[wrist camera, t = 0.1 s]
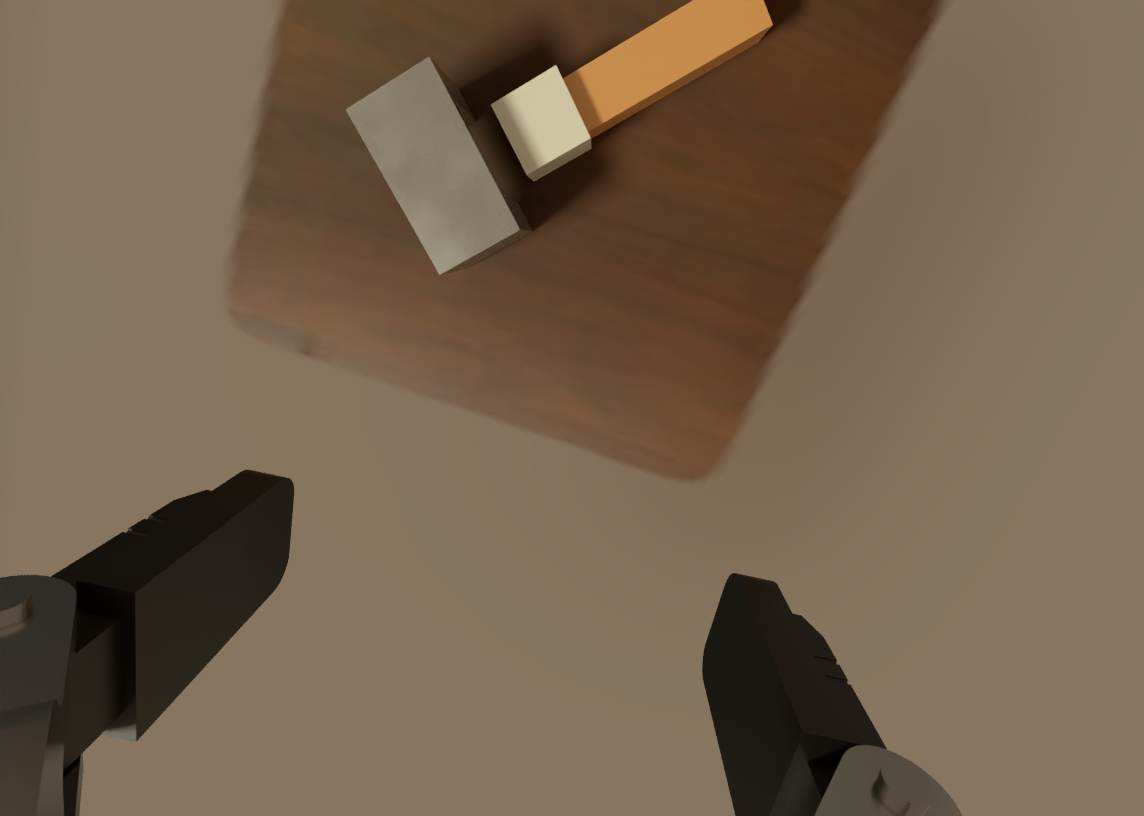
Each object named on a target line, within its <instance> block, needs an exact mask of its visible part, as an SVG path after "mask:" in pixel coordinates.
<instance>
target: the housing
mask: <svg viewBox="0 0 1144 816" xmlns="http://www.w3.org/2000/svg"><path fill="white" fill-rule="evenodd" d="M346 111H347V113H348V115H349V116H350V118H351V120H352V122H353V123H354V125H355V127H356V129H357V130H358V132H359V134H360V136H361V137H362V139H363V141H364V143H365V144H366V146H367V148H368V150H369V151H370V153H371V155H372V157H373V158H374V160H375V162H376V164H377V165H378V167H379V169H380V171H381V173H382V174H383V176H384V178H385V180H386V181H387V183H388V185H389V187H390V188H391V190H392V192H393V194H394V195H395V197H396V199H397V201H398V202H399V204H400V206H401V208H402V209H403V211H404V213H405V215H406V216H407V218H408V220H409V222H410V224H411V225H412V227H413V229H414V231H415V232H416V234H417V236H418V238H419V239H420V241H421V243H422V245H423V246H424V248H425V250H426V252H427V253H428V255H429V257H430V259H431V260H432V262H433V264H434V266H435V267H436V269H437V271H438V273H439V275H441V274H446V273H450V272H454V271H459V270H463V269H466V268H468V267H470V266H472V265H473V264H475V263H477V262H479V261H480V260H482V259H484V258H486V257H488V256H489V255H491V254H493V253H495V252H497V251H498V250H500V249H502V248H504V247H506V246H507V245H509V244H511V243H513V242H515V241H516V240H518V239H520V238H522V237H524V236H525V235H527V234H529V233H531V232H533V230H532V228H531V227H530V225H529V223H528V221H527V219H526V217H525V215H524V213H523V211H522V209H521V207H520V205H519V203H518V202H517V201H515V200H513V199H511V198H508V197H506V196H505V195H504V193H503V191H502V189H501V187H500V186H499V184H498V182H497V180H496V178H495V176H494V174H493V172H492V170H491V168H490V166H489V164H488V163H487V161H486V159H485V157H484V155H483V153H482V151H481V149H480V147H479V145H478V143H477V142H476V140H475V138H474V136H473V134H472V132H471V130H470V128H469V126H468V125H470V124H472V123H473V122H475V119H474V117H473V115H472V113H471V111H470V109H469V107H468V105H467V103H466V101H465V99H464V97H463V95H462V94H461V92H460V90H459V88H458V87H457V86H456V85H455V84H454V83H453V82H452V81H451V79H450V78H449V77H448V76H447V75H446V74H445V73H444V72H443V71H442V70H441V69H440V68H439V67H438V65H437V64H436V63H435V62H434V61H433V60H432V59H431V58H430V57H428V58H426V59H424V60H423V61H421V62H420V63H418V64H417V65H415V66H413V67H412V68H410V69H409V70H407V71H406V72H404V73H402V74H401V75H399V76H398V77H396V78H395V79H393V80H391V81H390V82H388V83H387V84H385V85H384V86H382V87H380V88H379V89H377V90H376V91H374V92H373V93H371V94H369V95H368V96H366V97H365V98H363V99H361V100H360V101H358V102H357V103H355V104H354V105H352V106H350V107H349V108H347V109H346Z"/></svg>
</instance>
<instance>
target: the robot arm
mask: <svg viewBox="0 0 1144 816" xmlns="http://www.w3.org/2000/svg"><path fill="white" fill-rule="evenodd" d="M293 499H294V485H293V483H292V480H291V479H289V478H285V477H281V476H276V475H271V474H266V473H261V472H257V471H252V470H244V471H242V472H240V473H239V474H237V475H236V476H234V477H232V478H231V479H229V480H228V481H227V482H225V483H223V484H222V485H220V486H219V487H217V488H216V489H214V490H213V491H210V490H205V491H201V492H198V493H195V494H192V495H189V496H186V497H183V498H179V499H176V500H173V501H172V502H170V503H169V504H167V505H165V506H164V507H162V508H161V509H159V510H157V511H156V512H154V513H153V514H151V515H150V516H149V518H148V519H143V520H141V521H140V522H138V523H136V524H135V525H133V526H132V527H130V528H128V531H127V533H124V532H122V533H120V534H119V535H117V536H115V537H114V538H112V539H111V540H109V541H107V542H106V543H105V544H103V545H101V546H99V547H98V548H96V549H95V550H93V551H92V552H90V553H88V554H86V555H85V556H83V557H82V558H80V559H79V560H77V561H75V562H74V563H72V564H70V565H69V566H67V567H66V568H64V569H62V570H61V571H59V572H57V573H56V574H54V575H53V576H51V577H50V576H42V575H18V576H8V577H2V578H0V816H79V813H80V801H81V790H82V779H83V752H84V751H85V749H87V748H88V747H89V746H90V745H91V744H92V742H94V741H95V740H96V739H97V738H98V737H99V736H100V735H106V736H111V737H116V738H120V739H125V740H131V741H135V742H136V741H137V740H138V739H139V738H140V737H141V736H142V735H143V734H144V733H145V732H146V730H147V729H148V728H149V727H150V726H151V725H152V724H153V723H154V722H155V721H156V720H157V718H158V717H159V716H160V715H161V714H162V713H163V712H164V711H165V710H166V708H167V707H168V706H169V705H170V704H171V703H172V702H173V701H174V700H175V699H176V698H177V697H178V695H179V694H180V693H181V692H182V691H183V690H184V689H185V688H186V687H187V686H188V685H189V683H190V682H191V681H192V680H193V679H194V678H195V677H196V676H197V675H198V674H199V672H200V671H201V670H202V669H203V668H204V667H205V666H206V665H207V664H208V663H209V662H210V661H211V659H212V658H213V657H214V656H215V655H216V654H217V653H218V652H219V651H220V650H221V649H222V647H223V646H224V645H225V644H226V643H227V642H228V641H229V640H230V638H231V637H232V636H233V635H234V634H235V633H236V632H237V631H238V630H239V629H240V628H241V627H242V625H243V624H244V623H245V622H246V621H247V620H248V619H249V618H250V617H251V616H252V615H253V614H254V612H255V611H256V610H257V609H258V608H259V607H260V606H261V605H262V604H263V602H265V600H266V599H267V598H268V597H269V596H270V595H271V594H272V593H273V592H274V590H275V589H276V588H277V586H278V585H279V583H280V581H281V579H282V577H283V575H284V572H285V569H286V566H287V563H288V559H289V550H290V538H291V525H292V513H293ZM836 661H837V660H836V658H835V656H834V655H833V653H832V651H831V649H830V648H829V646H828V644H827V643H826V640H825V639H824V637H822V635H821V634H820V633H819V632H818V631H816V630H815V629H814V627H813V626H812V625H810V624H809V623H808V622H807V621H806V620H805V619H804V618H803V617H802V616H801V615H796V614H792V612H791V610H790V608H789V606H788V604H787V602H786V600H785V598H784V596H783V595H782V593H781V591H780V589H779V587H778V585H777V584H776V583H775V582H774V581H770V580H765V579H760V578H755V577H751V576H746V575H741V574H736V573H733V574H731V575H730V576H729V578H728V579H727V582H726V584H725V586H724V590H723V593H722V595H721V598H720V601H719V605H718V608H717V611H716V614H715V617H714V620H713V623H712V626H711V629H710V632H709V635H708V638H707V641H706V644H705V649H704V654H703V666H702V667H703V668H702V672H703V681H704V686H705V690H706V694H707V698H708V702H709V706H710V711H711V715H712V719H713V723H714V728H715V731H716V736H717V740H718V744H719V748H720V753H721V756H722V761H723V765H724V769H725V774H726V778H727V782H728V786H729V790H730V795H731V798H732V803H733V807H734V811H735V815H736V816H962V814H961V812H960V810H959V809H958V807H957V805H956V804H955V802H954V801H953V799H952V798H951V797H950V796H949V794H948V793H947V792H946V791H945V790H944V789H943V787H942V786H941V785H940V784H939V783H938V782H937V781H935V780H934V779H933V778H932V777H931V776H930V775H929V774H928V773H926V772H925V771H924V770H923V769H921V768H920V767H918V766H917V765H915V764H914V763H913V762H911V761H909V760H908V759H906V758H904V757H902V756H900V755H898V754H896V753H894V752H892V751H889V750H887V748H886V747H885V745H884V743H883V741H882V740H881V738H880V736H879V734H878V733H877V731H876V729H875V727H874V725H873V724H872V722H871V720H870V718H869V717H868V715H867V713H866V711H865V709H864V708H863V706H862V704H861V702H860V701H859V699H858V697H857V695H856V694H855V692H854V690H853V688H852V687H851V685H849V684H847V678H846V676H845V674H844V672H843V671H842V669H841V667H840V665H837V664H836Z"/></svg>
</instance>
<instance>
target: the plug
mask: <svg viewBox="0 0 1144 816" xmlns="http://www.w3.org/2000/svg"><path fill="white" fill-rule="evenodd" d="M772 25H773V24H772V21H771V18H770V16H769V13H768V10H767V8H766V5H765V3H764V0H693V1H691V2H689V3H688V4H686V5H684V6H683V7H681V8H679V9H678V10H676V11H674V12H673V13H671V14H669V15H668V16H666V17H664V18H663V19H661V20H659V21H658V22H656V23H654V24H653V25H651V26H649V27H648V28H646V29H644V30H643V31H641V32H639V33H638V34H636V35H634V36H633V37H631V38H629V39H628V40H626V41H624V42H623V43H621V44H619V45H618V46H616V47H614V48H613V49H611V50H609V51H608V52H606V53H604V54H603V55H601V56H599V57H598V58H596V59H594V60H593V61H591V62H589V63H588V64H586V65H585V66H583V67H581V68H580V69H578V70H576V71H575V72H573V73H571V74H570V75H568V76H566V77H565V78H562V76H561V74H560V72H559V70H558V68H557V66H556V65H555V66H553V67H552V68H550V69H549V70H547V71H545V72H544V73H542V74H540V75H539V76H537V77H535V78H534V79H532V80H530V81H529V82H527V83H525V84H524V85H522V86H520V87H519V88H517V89H516V90H514V91H512V92H511V93H509V94H507V95H506V96H504V97H502V98H501V99H499V100H497V101H496V102H494V103H492V104H491V106H492V108H493V110H494V112H495V114H496V116H497V118H498V120H499V122H500V124H501V126H502V128H503V130H504V132H505V134H506V136H507V138H508V140H509V142H510V144H511V146H512V148H513V149H514V151H515V153H516V155H517V157H518V159H519V161H520V163H521V165H522V167H523V169H524V171H525V173H526V175H527V176H528V177H529V178H530V179H532V180H533V181H536V180H538V179H539V178H541V177H543V176H545V175H546V174H548V173H550V172H552V171H553V170H555V169H557V168H559V167H560V166H562V165H564V164H566V163H567V162H569V161H571V160H573V159H574V158H576V157H578V156H580V155H581V154H583V153H585V152H587V151H588V150H590V149H591V139H592V138H593V137H595V136H597V135H599V134H600V133H602V132H604V131H606V130H607V129H609V128H611V127H613V126H614V125H616V124H618V123H619V122H621V121H623V120H625V119H626V118H628V117H630V116H632V115H633V114H635V113H637V112H639V111H640V110H642V109H644V108H646V107H647V106H649V105H651V104H652V103H654V102H656V101H658V100H659V99H661V98H663V97H665V96H666V95H668V94H670V93H672V92H673V91H675V90H677V89H679V88H680V87H682V86H684V85H685V84H687V83H689V82H691V81H692V80H694V79H696V78H698V77H699V76H701V75H703V74H705V73H706V72H708V71H710V70H712V69H713V68H715V67H717V66H719V65H720V64H722V63H724V62H725V61H727V60H729V59H731V58H732V57H734V56H736V55H738V54H739V53H741V52H743V51H745V50H746V49H748V48H750V47H752V46H753V45H755V44H757V43H758V42H759V41H760V40H761V39H762V37H763V36H764V35H765V34H766V32H767V31H768V30H769V29H770V28H771V26H772Z"/></svg>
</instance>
